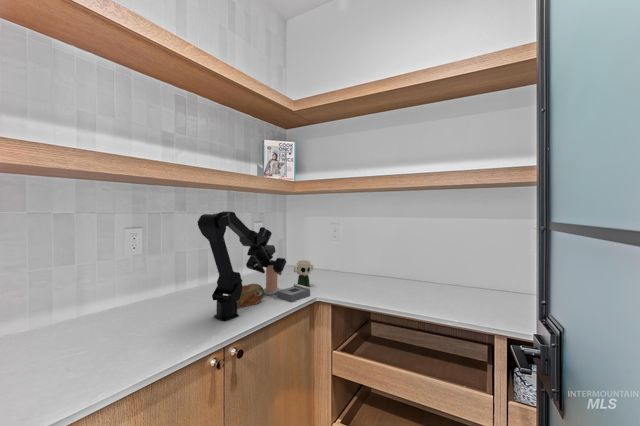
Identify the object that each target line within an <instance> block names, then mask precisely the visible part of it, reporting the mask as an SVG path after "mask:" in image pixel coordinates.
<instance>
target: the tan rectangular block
mask: <svg viewBox="0 0 640 426" xmlns="http://www.w3.org/2000/svg"><path fill="white" fill-rule="evenodd" d="M265 288H266V291H272V292H273V291H275V290H277V288H278V274H277V273H276V272H274V270H273V266H272V265H268V267H267V268H266V267H265Z"/></svg>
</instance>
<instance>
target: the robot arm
mask: <svg viewBox="0 0 640 426" xmlns="http://www.w3.org/2000/svg"><path fill="white" fill-rule="evenodd" d="M197 227H198V228H199V231H200V232H201V235H202V236H203V237H204V238H205V239H206V240H207V241H208V242H209V245H210V249H211V252H212V255H213V259H214V262H215V266H216V269H217V273H218V277H217V280H216V284H217V286H216V287H215V290H213V292H212V295H211V298H212V300H213V301H216V314H214V316H213V317H214V318H216V319H218V320H220V321H222V322H225V321H228V320H232V319H234V318H237V317H239V315H240V314H239V313H238V308H237V302H236V301H238V300H239V299H240V297H241V292H242V286H243V279H242V275H241V272H238V271H234V269H233V265H232V263H231V258H230V255H229V254H230V253H229V250H228V247H227V244H226V241H225V233H226V231H227V227H228V228H229V229H230V230H231V231H232V232H234V233H235V234H236V236H237V237H239V242H240V244H241V245H242V246H243V247H248V251H247V255H246V256H249V258H248V259H247V261H246V263H245V264H246V265H245V266H246V268H247V269H248V270H251V271H252V270H253V271H255V272H258V273H261V274H266V268H267V267H268V265H272V266H273V270H274V272H276V273H277V275H278V276H282V272H283V271H284V268H285V266H286V265H287V260H286V259H285V258H284V257H276V259H273V258H274V256H273V255H274V254H275V253H276V252H277V251H276V247H275V245H273V244H269V241H270V239H271V237H272V231H270V230H269V229H267V228H266V227H263V226H262V227H260V228H259V229H258V232H257V231H254V230H252V229H250V228H249V227H248V226H247V225H245V223H244V222H243V221H242V220H240V218H239V217H238V216H237V214H236V212H234V211H231V210H230V211H225V210H222V211H221V212H216V213H211V214H209V213H203V214H202V215H200V216H199V219H198V220H197ZM228 294H229V295H231V296H228Z"/></svg>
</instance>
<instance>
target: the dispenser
mask: <svg viewBox="0 0 640 426" xmlns="http://www.w3.org/2000/svg"><path fill="white" fill-rule="evenodd" d="M282 289H283V290H280V291H277V294H276V295H277V296H276V297H277V299H280V300H284V301H287V302H290V303H293V302H295V301H299V300H301V299H304V298H307V297H310V296H311V289H310V286H308V287H307V286H302V285H298V283H294V284H293V286H290V287H287V288H282Z"/></svg>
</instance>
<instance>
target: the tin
mask: <svg viewBox="0 0 640 426" xmlns="http://www.w3.org/2000/svg"><path fill="white" fill-rule="evenodd" d="M263 289H264V288H263V287H262V285H260V284H258V283H249V284H244V285H242V292H241V297H240V299H239V300H238V301H236V302H237V309H241V308H245V307H249V306H253V305H254V306H255V305H257V304H259V303H260V302H261V301H262V300H263V298H264V295H265V294H264V290H263ZM227 296H231V295H229V294H227Z"/></svg>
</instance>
